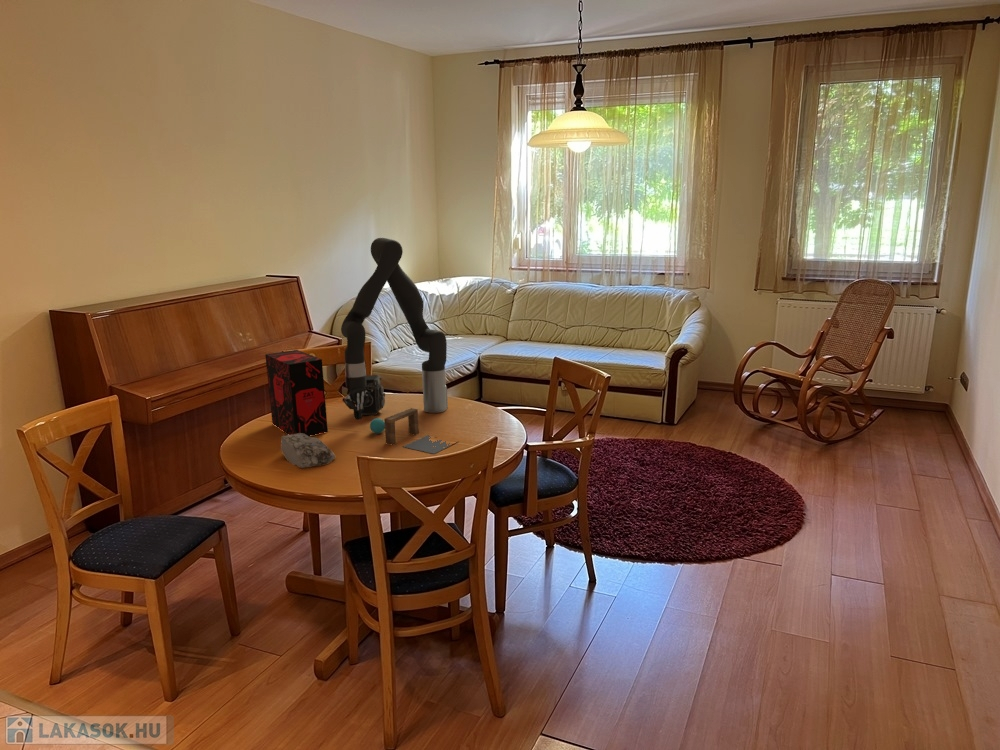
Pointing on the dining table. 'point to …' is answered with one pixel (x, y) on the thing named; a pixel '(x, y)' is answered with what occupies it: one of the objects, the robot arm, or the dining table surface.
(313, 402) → the box
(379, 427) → the ball
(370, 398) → the camera
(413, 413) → the bridge
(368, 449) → the dining table surface
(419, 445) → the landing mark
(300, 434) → the decorative stone
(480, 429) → the dining table surface
